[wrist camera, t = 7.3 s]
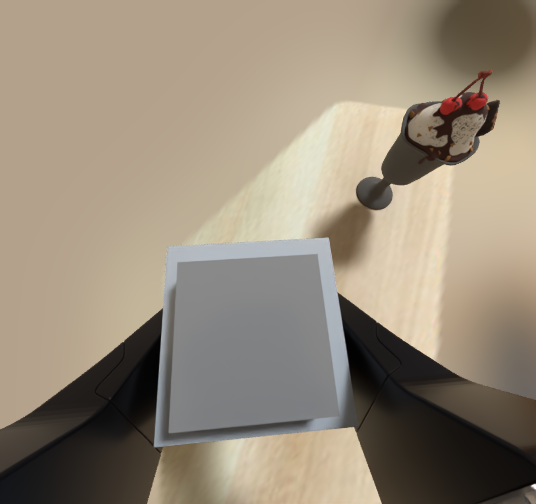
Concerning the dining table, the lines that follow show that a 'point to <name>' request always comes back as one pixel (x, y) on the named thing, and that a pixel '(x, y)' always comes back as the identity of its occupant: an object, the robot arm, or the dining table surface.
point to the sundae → (432, 141)
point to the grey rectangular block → (251, 343)
